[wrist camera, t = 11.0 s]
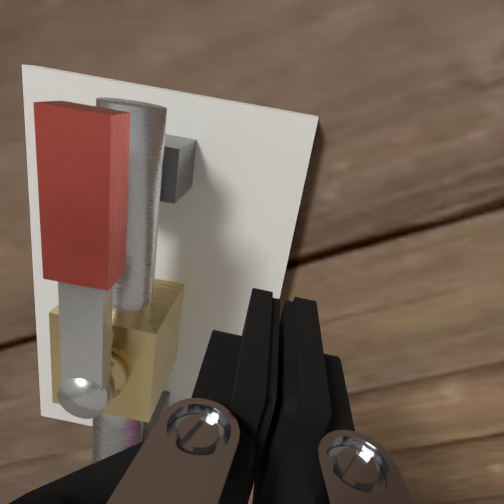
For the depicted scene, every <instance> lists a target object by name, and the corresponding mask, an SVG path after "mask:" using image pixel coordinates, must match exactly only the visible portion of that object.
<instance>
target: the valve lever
mask: <svg viewBox="0 0 504 504" xmlns="http://www.w3.org/2000/svg"><path fill="white" fill-rule="evenodd" d="M33 105H34V123H35V141H36V159H37V178H38V196H39V214H40V232H41V250H42V268H43V279H47V280H53V281H58V300H59V325H60V350H61V375H62V384H61V385H60V387H59V388H58V391H57V397H58V401H59V403H60V405H61V406H62V407H63V408H64V409H65V410H66V411H67V412H68V413H70V414H71V415H73V416H76V417H78V418H83V419H91V418H95V417H97V416H99V415H100V414H101V413H102V412H103V411H104V409H105V407H106V406H107V404H108V402H109V401H110V399H111V397H112V396H113V394H114V392H115V382H114V380H113V378H112V376H111V348H112V298H113V285H114V284H115V283H116V282H117V281H118V280H119V279H120V278H121V277H122V276H123V274H124V273H125V263H126V233H127V203H128V173H129V143H130V113H131V112H126V111H120V110H114V109H108V108H102V107H96V106H90V105H85V104H79V103H73V102H67V101H61V100H60V101H43V102H33Z"/></svg>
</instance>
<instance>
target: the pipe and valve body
mask: <svg viewBox="0 0 504 504" xmlns="http://www.w3.org/2000/svg"><path fill="white" fill-rule="evenodd" d="M96 107H102V108H108V109H114V110H120V111H126V112H131V113H130V143H129V173H128V203H127V233H126V263H125V273H124V274H123V276H122V277H121V278H120V279H119V280H118V281H117V282H116V283H115V284H114V285H113V298H112V348H111V376H112V378H113V380H114V382H115V392H114V394H113V396H112V397H111V399H110V401H109V402H108V404H107V406H106V407H105V409H104V411H103V412H102V413H101V414H100V415H99V416H97V417H95V418H93V433H92V464H93V463H96V462H98V461H100V460H102V459H105V458H107V457H109V456H111V455H114V454H116V453H118V452H120V451H122V450H125V449H127V448H129V447H131V446H134V445H136V444H138V443H140V442H143V441H145V440H146V439H147V437H148V435H149V434H150V432H151V431H152V429H153V427H154V426H155V424H156V422H157V421H158V419H159V418H160V416H161V414H162V413H163V412H164V411H165V410H166V409H167V408H168V407H169V398H170V392H168V391H164V390H163V389H164V387H165V385H166V383H167V380H168V378H169V376H170V374H171V371H172V369H173V367H174V365H175V362H176V358H177V349H178V340H179V331H180V322H181V313H182V303H183V294H184V285H185V284H181V283H176V282H171V281H166V280H161V279H156V278H154V276H155V263H156V250H157V237H158V224H159V210H160V201H162V202H168V203H173V204H175V203H176V202H177V201H178V200H179V199H180V198H181V197H182V196H183V195H184V194H185V193H186V192H187V191H188V190H189V189H190V188H191V187H192V181H193V172H194V162H195V153H196V143H197V140H195V139H190V138H185V137H179V136H174V135H168V134H165V131H166V118H167V108H166V107H163V106H160V105H156V104H151V103H146V102H141V101H134V100H127V99H119V98H107V97H99V98H96ZM49 329H50V354H51V379H52V403H56V404H60V403H59V401H58V397H57V391H58V388H59V387H60V385H61V384H62V375H61V350H60V325H59V304H58V305H57V306H56V307H55V308H53V309H52V310H51V311H50V312H49Z"/></svg>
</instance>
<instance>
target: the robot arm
mask: <svg viewBox="0 0 504 504" xmlns="http://www.w3.org/2000/svg"><path fill="white" fill-rule="evenodd" d="M279 313H280V299H277V298H273V292H271V291H266V290H261V289H257V288H252V292H251V296H250V301H249V305H248V310H247V314H246V319H245V323H244V328H243V332H242V336H240V335H236V334H231V333H226V332H222V331H217V330H213V331H212V333H211V336H210V340H209V343H208V346H207V349H206V352H205V356H204V359H203V362H202V365H201V368H200V371H199V375H198V378H197V381H196V384H195V387H194V391H193V394H192V397H191V398H188V399H184V400H181V401H177V402H176V403H174V404H172V405H171V406H169V407H168V408H167V409H166V410H165V411H164V412H163V413H162V414H161V416H160V418H159V419H158V421H157V422H156V424H155V426H154V427H153V429H152V431H151V432H150V434H149V435H148V437H147V439H146V440H145V441H143V442H140V443H138V444H136V445H134V446H131V447H129V448H127V449H125V450H122V451H120V452H118V453H116V454H114V455H111V456H109V457H107V458H105V459H102V460H100V461H98V462H96V463H93V464H91V465H89V466H87V467H84V468H82V469H80V470H78V471H75V472H73V473H71V474H69V475H66V476H64V477H62V478H60V479H58V480H55V481H53V482H51V483H49V484H46V485H44V486H42V487H40V488H37V489H35V490H33V491H31V492H28V493H26V494H24V495H23V496H21V497H19V498H18V499H16V500H14V501H12V502H11V503H9V504H248V501H249V497H250V494H251V490H252V487H253V483H254V491H253V503H252V504H414V503H413V500H412V498H411V496H410V494H409V492H408V489H407V487H406V485H405V483H404V480H403V478H402V476H401V474H400V472H399V469H398V467H397V465H396V464H395V462H394V460H393V459H392V457H391V455H390V454H389V453H388V452H387V451H386V450H385V449H384V448H383V447H382V446H381V445H380V444H378V443H377V442H376V441H374V440H373V439H371V438H370V437H368V436H365V435H363V434H361V433H359V432H355V429H354V424H353V419H352V414H351V409H350V405H349V400H348V395H347V390H346V385H345V380H344V375H343V370H342V365H341V361H340V358H339V357H337V356H332V355H328V354H324V353H323V346H322V339H321V332H320V325H319V318H318V311H317V303H316V301H312V300H307V299H303V298H298V297H295V298H294V300H293V302H291V301H285V304H284V308H283V312H282V316H281V319H280V323H279Z"/></svg>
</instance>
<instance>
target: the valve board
mask: <svg viewBox="0 0 504 504" xmlns="http://www.w3.org/2000/svg"><path fill="white" fill-rule="evenodd" d="M22 77H23V95H24V113H25V131H26V149H27V167H28V185H29V203H30V221H31V239H32V257H33V276H34V294H35V312H36V330H37V348H38V366H39V384H40V402H41V416H46V417H50V418H55V419H60V420H65V421H69V422H74V423H79V424H84V425H89V426H93V418H91V419H83V418H78V417H76V416H73V415H71V414H70V413H68V412H67V411H66V410H65V409H64V408H63V407H62V406H61V405H60V404H56V403H52V379H51V354H50V329H49V312H50V311H51V310H52V309H53V308H55V307H56V306H57V305H58V304H59V300H58V281H53V280H47V279H43V268H42V250H41V232H40V214H39V196H38V178H37V159H36V141H35V123H34V105H33V102H43V101H60V100H61V101H67V102H73V103H79V104H85V105H90V106H96V98H99V97H107V98H119V99H127V100H134V101H141V102H146V103H151V104H156V105H160V106H163V107H166V108H167V118H166V131H165V134H168V135H174V136H179V137H185V138H190V139H195V140H197V143H196V153H195V162H194V172H193V181H192V187H191V188H190V189H189V190H188V191H187V192H186V193H185V194H184V195H183V196H182V197H181V198H180V199H179V200H178V201H177V202H176V203H175V204H173V203H168V202H162V201H160V210H159V224H158V237H157V250H156V263H155V276H154V278H156V279H161V280H166V281H171V282H176V283H181V284H185V285H184V294H183V303H182V313H181V322H180V331H179V340H178V349H177V358H176V362H175V365H174V367H173V369H172V371H171V374H170V376H169V378H168V380H167V383H166V385H165V387H164V389H163V390H164V391H168V392H170V398H169V406H171V405H172V404H174V403H176V402H177V401H181V400H184V399H188V398H191V397H192V394H193V391H194V387H195V384H196V381H197V378H198V375H199V371H200V368H201V365H202V362H203V359H204V356H205V352H206V349H207V346H208V343H209V340H210V336H211V333H212V331H213V330H217V331H222V332H226V333H231V334H236V335H240V336H242V332H243V328H244V323H245V319H246V314H247V310H248V305H249V301H250V296H251V292H252V288H257V289H261V290H266V291H271V292H273V298H277V299H280V294H281V289H282V285H283V280H284V275H285V271H286V266H287V262H288V257H289V252H290V248H291V243H292V239H293V234H294V229H295V225H296V220H297V215H298V211H299V206H300V202H301V197H302V192H303V188H304V183H305V178H306V174H307V169H308V165H309V160H310V155H311V151H312V146H313V142H314V137H315V132H316V128H317V123H318V118H319V117H318V116H315V115H309V114H304V113H298V112H292V111H287V110H281V109H276V108H270V107H265V106H259V105H253V104H248V103H242V102H237V101H231V100H225V99H220V98H214V97H209V96H203V95H198V94H192V93H186V92H181V91H175V90H170V89H164V88H158V87H153V86H147V85H142V84H136V83H130V82H125V81H119V80H114V79H108V78H103V77H97V76H91V75H86V74H80V73H75V72H69V71H63V70H58V69H52V68H47V67H41V66H34V65H22Z"/></svg>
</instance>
